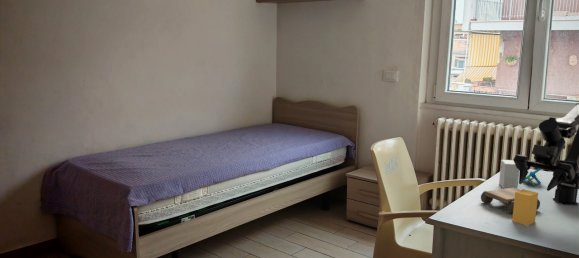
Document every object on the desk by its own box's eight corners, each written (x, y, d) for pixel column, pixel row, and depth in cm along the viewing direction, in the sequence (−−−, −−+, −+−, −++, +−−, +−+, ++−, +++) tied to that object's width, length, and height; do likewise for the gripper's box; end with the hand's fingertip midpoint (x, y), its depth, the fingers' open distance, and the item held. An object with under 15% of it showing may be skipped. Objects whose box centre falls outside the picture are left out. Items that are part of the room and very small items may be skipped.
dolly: (508, 198, 189) (509, 186, 188) (539, 210, 177) (540, 196, 176) (480, 202, 184) (481, 189, 183) (510, 215, 171) (511, 201, 170)
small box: (517, 190, 201) (520, 164, 199) (502, 189, 202) (505, 163, 200) (512, 184, 209) (515, 160, 207) (498, 183, 210) (501, 159, 208)
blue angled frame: (526, 174, 219) (544, 162, 212) (535, 185, 217) (554, 173, 210) (515, 182, 212) (533, 170, 205) (525, 193, 210) (543, 181, 203)
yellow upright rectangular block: (520, 217, 169) (523, 189, 167) (534, 221, 165) (538, 192, 164) (512, 221, 166) (515, 192, 164) (527, 225, 162) (530, 195, 160)
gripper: (518, 131, 174) (499, 166, 169) (576, 140, 160) (557, 179, 155) (526, 151, 180) (508, 185, 175) (582, 161, 166) (564, 199, 161)
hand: (533, 186), depth 166 cm, fingers open, 9 cm apart
